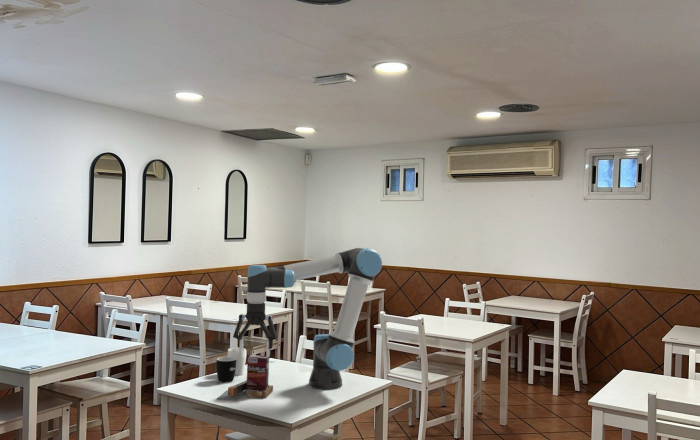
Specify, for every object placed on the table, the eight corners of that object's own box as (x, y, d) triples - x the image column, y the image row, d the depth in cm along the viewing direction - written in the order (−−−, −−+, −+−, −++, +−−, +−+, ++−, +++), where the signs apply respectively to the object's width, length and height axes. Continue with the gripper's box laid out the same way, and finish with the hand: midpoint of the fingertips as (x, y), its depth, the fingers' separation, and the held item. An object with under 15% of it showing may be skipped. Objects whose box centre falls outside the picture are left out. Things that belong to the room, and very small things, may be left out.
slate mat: (244, 392, 243) (244, 391, 243) (235, 400, 231) (235, 399, 231) (226, 391, 244) (226, 390, 244) (216, 399, 232) (216, 398, 233)
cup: (243, 376, 270) (244, 351, 270) (225, 376, 270) (225, 350, 270) (247, 372, 279) (248, 347, 279) (229, 371, 279) (230, 347, 279)
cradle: (274, 389, 250) (275, 383, 250) (265, 398, 235) (265, 392, 235) (248, 387, 251) (248, 382, 251) (237, 396, 236) (237, 391, 236)
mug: (229, 384, 256) (230, 361, 256) (212, 382, 258) (212, 360, 259) (242, 378, 267) (242, 356, 268) (225, 376, 270) (225, 354, 270)
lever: (256, 387, 250) (257, 377, 250) (233, 398, 232) (234, 387, 232) (250, 386, 251) (250, 376, 251) (227, 397, 233) (227, 386, 233)
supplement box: (245, 394, 240) (246, 357, 240) (248, 391, 244) (249, 354, 245) (265, 395, 239) (266, 358, 239) (268, 392, 244) (269, 355, 244)
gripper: (285, 302, 236) (284, 355, 235) (232, 300, 239) (230, 352, 238) (281, 304, 229) (279, 359, 228) (225, 302, 232) (224, 356, 231)
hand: (254, 356), depth 233 cm, fingers open, 11 cm apart
